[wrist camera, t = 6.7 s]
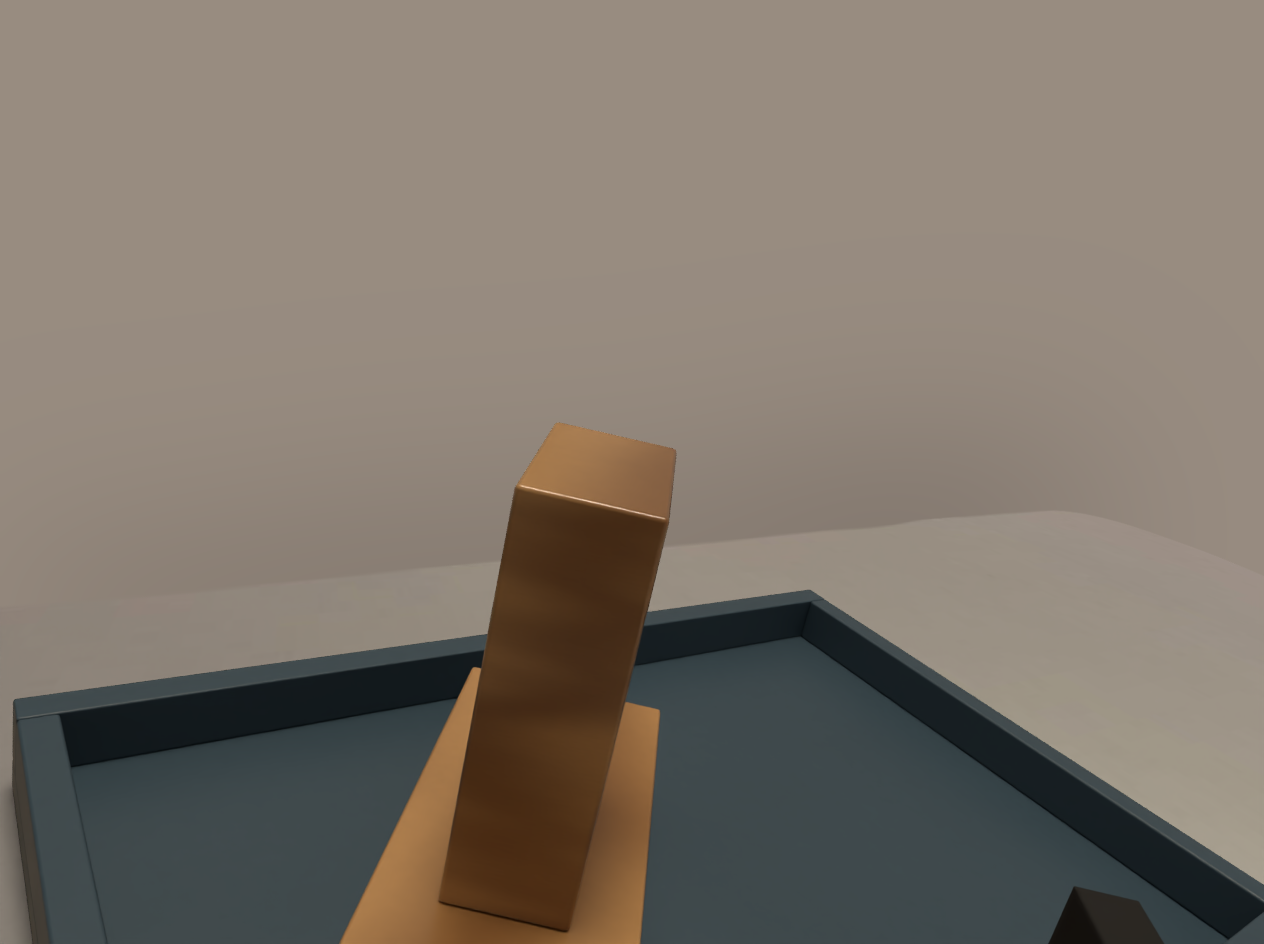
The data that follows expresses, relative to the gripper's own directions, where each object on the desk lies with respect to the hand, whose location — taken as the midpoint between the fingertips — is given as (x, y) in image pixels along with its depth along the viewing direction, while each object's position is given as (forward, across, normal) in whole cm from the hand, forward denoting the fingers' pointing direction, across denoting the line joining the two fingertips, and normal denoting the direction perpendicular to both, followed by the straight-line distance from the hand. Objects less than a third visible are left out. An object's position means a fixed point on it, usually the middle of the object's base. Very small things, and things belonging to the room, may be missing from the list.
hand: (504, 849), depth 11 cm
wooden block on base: (+6, 0, -7) cm, 9 cm away
